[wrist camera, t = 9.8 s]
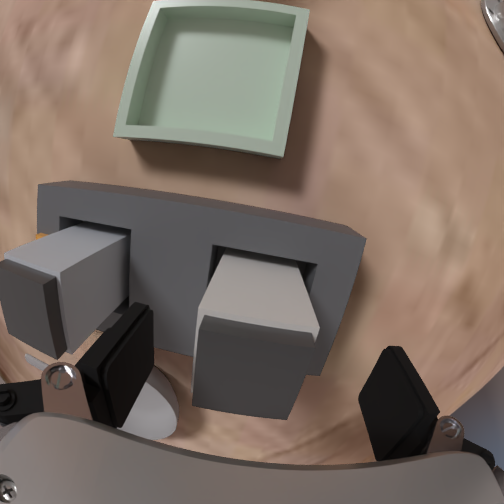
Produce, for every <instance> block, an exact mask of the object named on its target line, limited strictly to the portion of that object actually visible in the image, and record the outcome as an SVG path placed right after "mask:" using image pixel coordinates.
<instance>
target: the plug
mask: <svg viewBox="0 0 504 504" xmlns="http://www.w3.org/2000/svg"><path fill="white" fill-rule="evenodd" d="M319 329H320V327H319V324H318V321H317V318H316V315H315V313H314V310H313V307H312V304H311V301H310V298H309V296H308V293H307V290H306V287H305V285H304V282H303V279H302V277H301V274H300V271H299V268H298V266H297V263H296V260H294V259H289V258H283V257H278V256H273V255H267V254H262V253H256V252H251V251H246V250H240V249H235V248H229V247H227V248H226V250H225V252H224V254H223V256H222V258H221V260H220V262H219V264H218V266H217V269H216V271H215V273H214V275H213V277H212V279H211V281H210V283H209V286H208V288H207V290H206V292H205V294H204V296H203V298H202V301H201V303H200V305H199V307H198V315H197V324H196V334H195V345H194V356H193V368H192V381H191V393H193V398H192V406H196V407H201V408H205V409H210V410H216V411H221V412H227V413H233V414H239V415H246V416H254V417H262V418H271V419H282V420H287V419H288V416H289V414H290V412H291V410H292V407H293V405H294V403H295V400H296V398H297V396H298V393H299V391H300V388H301V386H302V383H303V381H304V378H305V376H306V373H307V371H308V368H309V366H310V363H311V360H312V358H313V355H314V352H315V350H316V346H315V341H316V338H317V335H318V332H319Z"/></svg>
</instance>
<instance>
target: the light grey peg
mask: <svg viewBox="0 0 504 504" xmlns="http://www.w3.org/2000/svg"><path fill="white" fill-rule="evenodd" d="M130 245H131V229H127V228H121V227H116V226H111V225H105V224H100V223H94V222H89V221H86V222H83V223H80V224H78V225H75V226H72V227H69V228H66V229H63V230H61V231H58V232H55V233H53V234H50V235H47V236H45V237H42V238H39V239H37V240H34V241H32V242H29V243H27V244H24V245H22V246H19V247H17V248H15V249H12V250H10V251H8V252H5V253H4V258H5V260H3V261H1V262H0V301H1V306H2V310H3V314H4V318H5V322H6V326H7V330H8V333H9V334H11V335H12V336H14V337H16V338H17V339H19V340H21V341H22V342H24V343H26V344H28V345H30V346H31V347H33V348H35V349H37V350H39V351H41V352H43V353H45V354H47V355H48V356H50V357H53V358H55V359H57V360H58V359H59V358H60V357H61V356H62V355H63V353H64V352H67V353H70V354H73V353H74V352H75V351H76V350H77V349H78V348H79V347H80V345H81V344H82V343H83V342H84V341H85V340H86V339H87V338H88V337H89V336H90V335H91V334H92V333H93V332H94V331H95V329H96V328H97V327H98V326H99V325H100V324H101V323H102V322H103V321H104V320H105V319H106V318H107V317H108V316H109V315H110V314H111V313H112V312H113V311H114V310H115V309H116V308H117V307H118V306H119V305H120V304H121V303H122V302H123V301H124V300H125V299H126V298H127V297H128V296H129V272H130Z"/></svg>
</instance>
